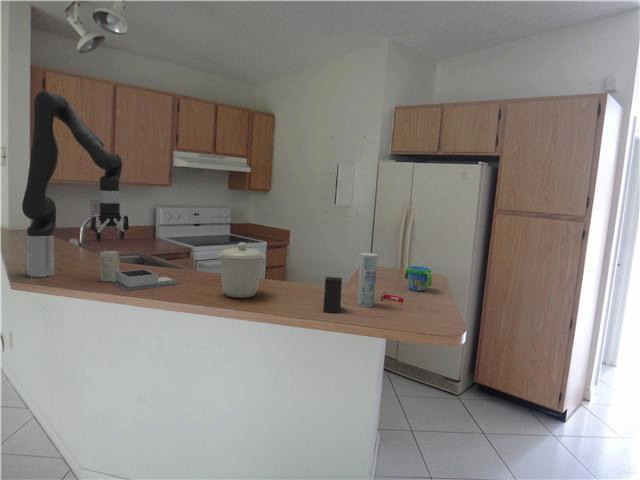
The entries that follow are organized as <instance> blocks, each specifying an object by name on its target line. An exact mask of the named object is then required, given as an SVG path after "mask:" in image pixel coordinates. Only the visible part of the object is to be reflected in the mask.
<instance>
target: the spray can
mask: <svg viewBox="0 0 640 480" xmlns="http://www.w3.org/2000/svg"><path fill="white" fill-rule="evenodd" d="M378 256H379V255H378V254H377V253H373V252H361V253H360V259H359V260H360V261H359V263H360V264H359V272H358V273H359V274H358V289H357V305H358V306H361V307H364V308H365V307H366V308H368V307H369V308H370V307H373V306H374V302H375V301H374V300H375V290H376V279H377V270H378V269H377V266H378Z"/></svg>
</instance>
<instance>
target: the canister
mask: <svg viewBox="0 0 640 480" xmlns="http://www.w3.org/2000/svg"><path fill="white" fill-rule="evenodd" d="M247 247H248V245H247V243H245V242H244V241H243V242H238V244H237V247H230V248H225V249H223V250H221V251H220V252H218V253H217V255H218V256H219V265H220V275H221V285H222V291H223V293H224V294H225V296H227V297H231V298H235V299H236V298H237V299H246V298H247V299H248V298H250V297H254V296H255V295H256V294H257V293H258V290H259V286H260V280H261V274H262V268H263V263H264V258H265V257H266V254H265V253H263V252H262V251H260V250H259V249H255V248H254V249H253V248H247Z"/></svg>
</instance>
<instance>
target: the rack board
mask: <svg viewBox="0 0 640 480" xmlns="http://www.w3.org/2000/svg"><path fill="white" fill-rule="evenodd" d="M180 282H181V281H179V280H176V279H174V278H171V277H170V276H167V275H159V274H158V273H155V272H153V271H151V270H149V269H146V268H142V269H133V270H123V271H121V270H120V272H116V281H113V282H112V285H115V286H116V287H117V288H120V289H122V290H123V291H125V292H131V291H138V290H145V289H153V288H154V289H155V288H162V287H169V286H176V285H180V284H181V283H180Z"/></svg>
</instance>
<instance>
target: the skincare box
mask: <svg viewBox="0 0 640 480" xmlns="http://www.w3.org/2000/svg"><path fill="white" fill-rule="evenodd" d="M99 262H100V263H99V265H100V268H99V269H100V281H101V282H112V283H113V281H116V272H120V271H121V270H120V268H121V267H120V251H116V250H115V251H111V250H103V251H99Z"/></svg>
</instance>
